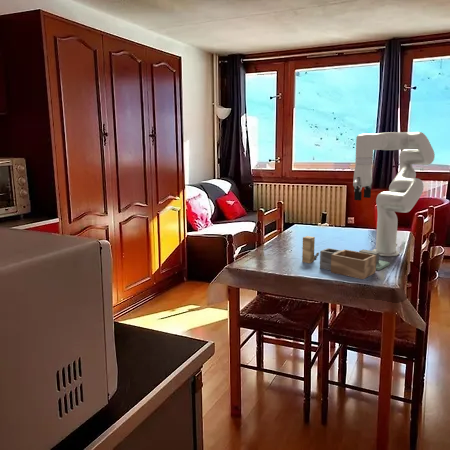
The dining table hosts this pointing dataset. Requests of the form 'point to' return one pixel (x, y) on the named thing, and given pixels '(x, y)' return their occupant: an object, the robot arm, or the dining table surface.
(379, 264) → the lid
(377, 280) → the dining table surface
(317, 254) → the hacksaw
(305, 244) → the tan wooden block
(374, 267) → the toolbox
